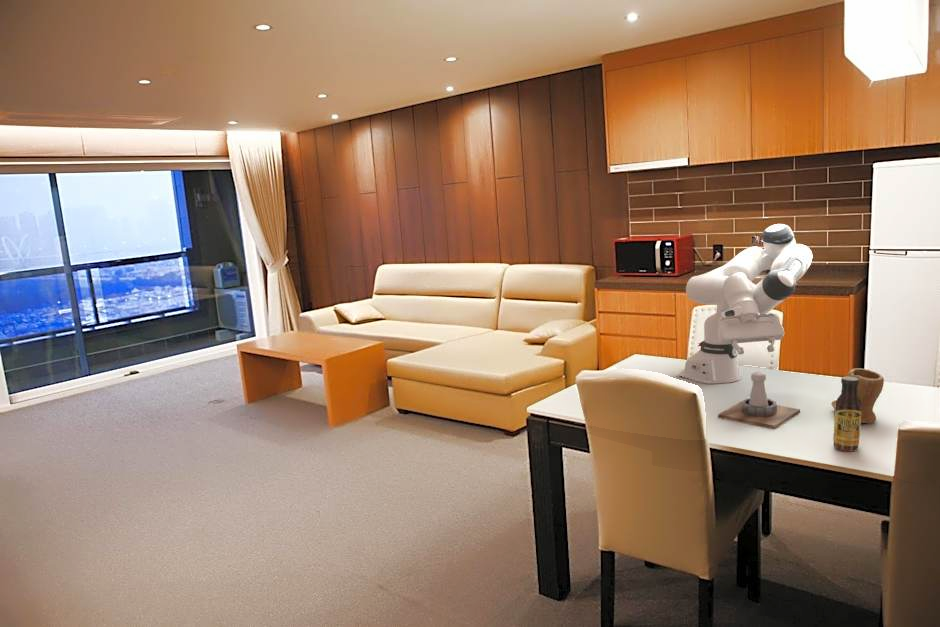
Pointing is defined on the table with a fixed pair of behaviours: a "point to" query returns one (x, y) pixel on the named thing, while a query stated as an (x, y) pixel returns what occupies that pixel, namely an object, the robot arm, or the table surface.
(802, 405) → the table surface
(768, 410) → the keeper collar
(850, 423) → the sauce bottle
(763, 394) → the salt shaker
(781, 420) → the keeper plate
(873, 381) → the stone cup
